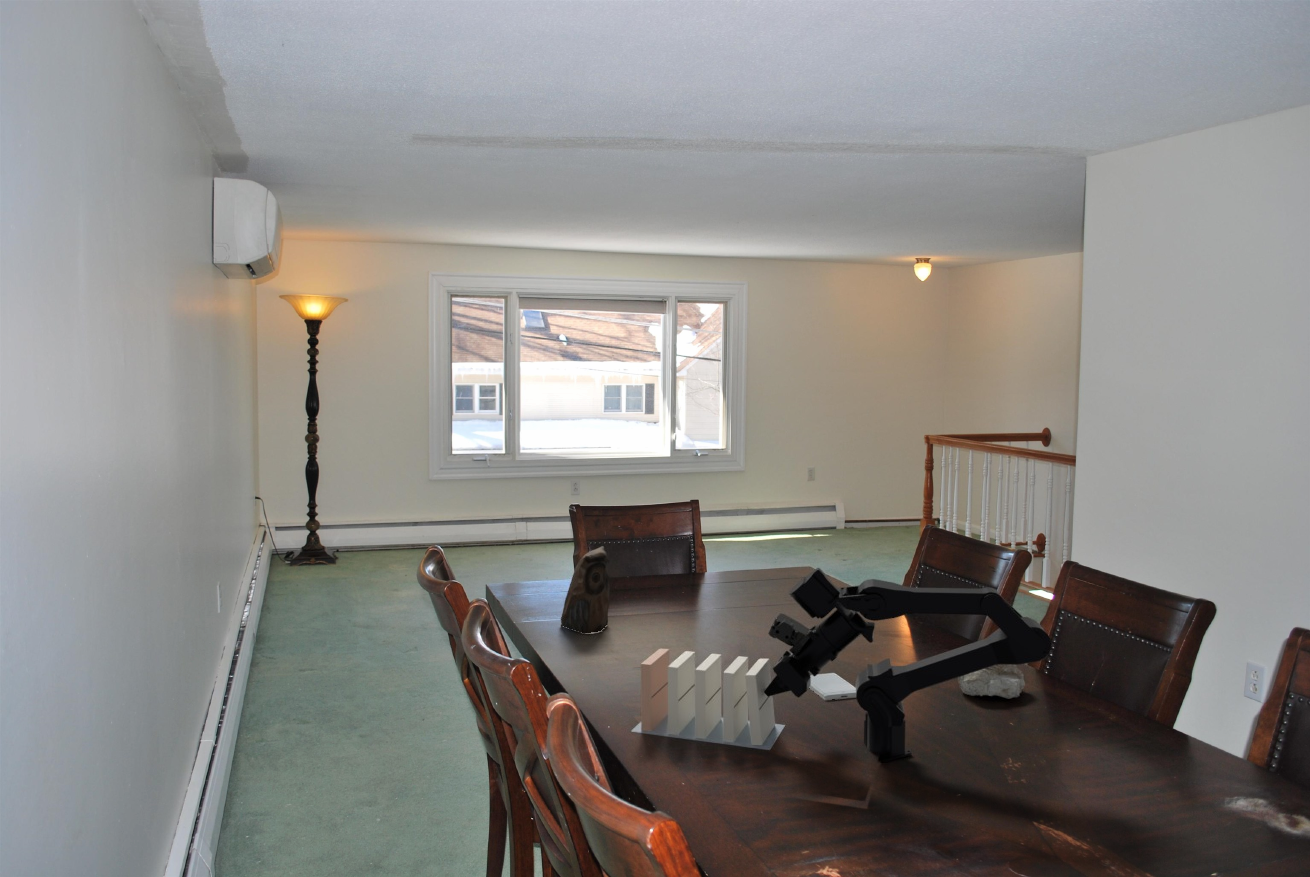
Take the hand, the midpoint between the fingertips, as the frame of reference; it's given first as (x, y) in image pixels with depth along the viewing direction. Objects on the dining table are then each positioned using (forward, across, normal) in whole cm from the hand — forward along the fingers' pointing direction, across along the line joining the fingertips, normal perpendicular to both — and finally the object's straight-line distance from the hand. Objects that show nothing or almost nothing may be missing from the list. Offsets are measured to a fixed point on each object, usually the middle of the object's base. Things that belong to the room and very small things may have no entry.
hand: (766, 693), depth 165 cm
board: (+13, 0, -1) cm, 13 cm away
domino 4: (+9, 0, +2) cm, 9 cm away
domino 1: (+20, 0, -9) cm, 22 cm away
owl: (+49, -58, -36) cm, 84 cm away
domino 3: (+13, 0, -2) cm, 13 cm away
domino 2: (+16, 0, -6) cm, 17 cm away
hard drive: (+2, -31, +11) cm, 33 cm away
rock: (-20, -38, +32) cm, 54 cm away
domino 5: (+6, 0, +5) cm, 7 cm away
